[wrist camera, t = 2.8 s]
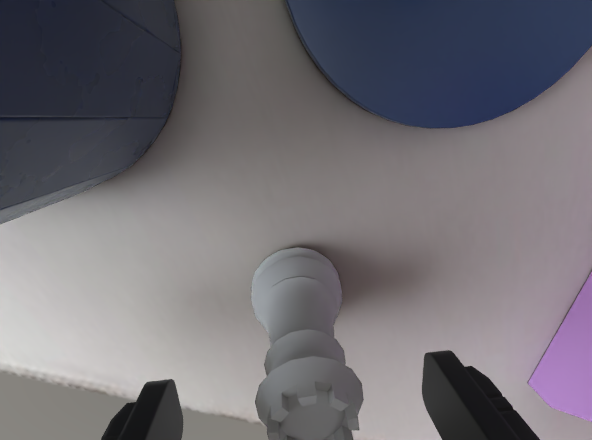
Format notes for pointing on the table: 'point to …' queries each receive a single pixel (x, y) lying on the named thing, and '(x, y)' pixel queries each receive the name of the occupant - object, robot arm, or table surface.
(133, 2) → the pot
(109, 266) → the table surface
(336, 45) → the lid
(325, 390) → the rook chess piece
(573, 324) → the purple table lamp
